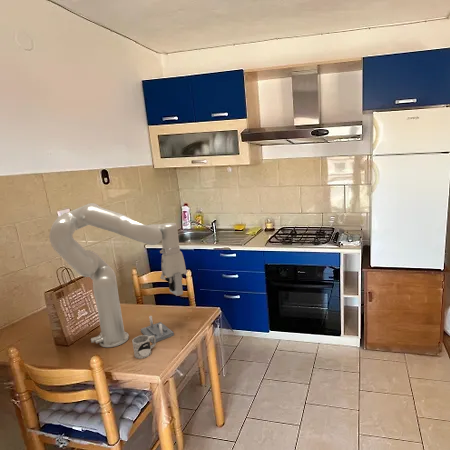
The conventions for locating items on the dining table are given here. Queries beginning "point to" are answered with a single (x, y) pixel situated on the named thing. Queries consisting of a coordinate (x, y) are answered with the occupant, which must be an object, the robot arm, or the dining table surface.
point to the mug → (143, 346)
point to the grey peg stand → (157, 331)
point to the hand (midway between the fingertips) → (175, 288)
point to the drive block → (177, 284)
